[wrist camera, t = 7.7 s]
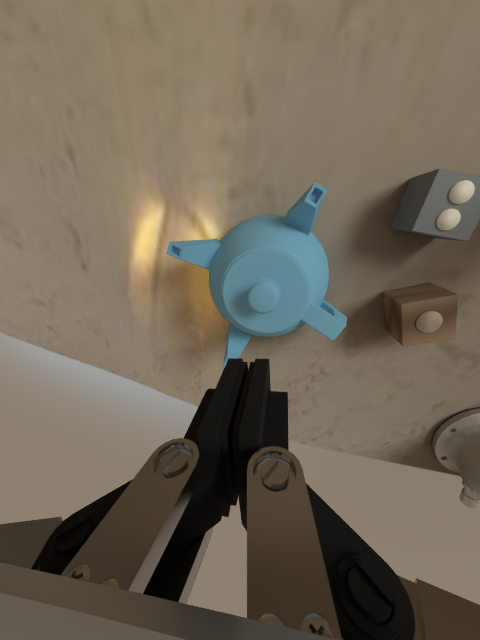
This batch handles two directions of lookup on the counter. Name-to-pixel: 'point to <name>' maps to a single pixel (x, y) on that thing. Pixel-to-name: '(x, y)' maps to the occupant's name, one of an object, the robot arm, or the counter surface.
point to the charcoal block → (440, 205)
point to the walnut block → (420, 314)
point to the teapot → (268, 275)
